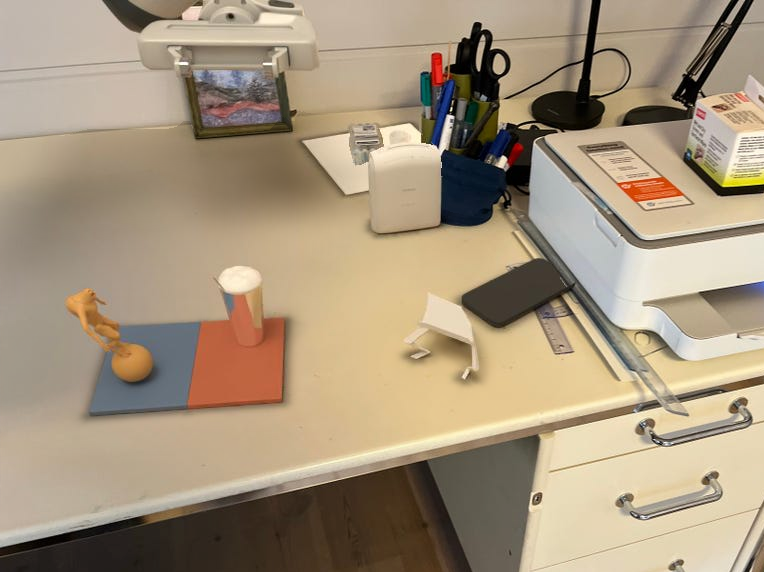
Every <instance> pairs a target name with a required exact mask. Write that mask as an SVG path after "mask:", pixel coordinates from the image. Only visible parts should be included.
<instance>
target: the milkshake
mask: <svg viewBox="0 0 764 572" xmlns="http://www.w3.org/2000/svg"><path fill="white" fill-rule="evenodd" d="M213 280H214V281H215V282H216V283H217V286H218V289H219V292H220V295H221V297H222V300H223V303H224V307H225V310H226V314H227V317H228V319H229V320H230V324H231V327H232V330H233V334H234V337H235V340H236V341H237V343H238V344H239V345H242V346H246V347H249V346H256V345H258V344H259V343H261V342H262V341H263V339H264V336H265V329H264V319H265V318H264V317H265V316H264V303H263V278H262V275H261V273H260V272H259V271H258V270H256V269H254V268H253V267H251V266H247V265H246V266H244V265H234V266H232V267H228V268H224V269H223V270H222V272H221V273H220V275H219V276H218V279H217V278H215V277H213Z"/></svg>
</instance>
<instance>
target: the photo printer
mask: <svg viewBox="0 0 764 572" xmlns="http://www.w3.org/2000/svg"><path fill="white" fill-rule="evenodd" d="M439 151H440V149H439V148H438V147H437V145H435V144H433V145H431V144H426V143H418V142H405V143H397V144H392V145H388V146H384V147H381V148H379V149H377V150H374V151H372V152H370V154H369V163H368V180H369V190H368V194H369V195H368V197H369V198H368V199H369V214H370V215H369V217H370V228H371V230H372V232H374V233H376V234H389V233H396V232H398V233H399V232H406V231H407V232H408V231H413V230H414V231H415V230H420V229H427V228H434V227H438V226H439V225H440V224H441V213H442V212H441V211H442V209H441V208H442V205H441V204H442V176H441V168H442V162H441V157H440V152H441V151H440V152H439Z"/></svg>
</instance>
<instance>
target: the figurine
mask: <svg viewBox="0 0 764 572" xmlns="http://www.w3.org/2000/svg"><path fill="white" fill-rule="evenodd" d="M97 302H98V303H99V304H100V305H102V306H103V305H104V306H107V305H108V303H106V302H105V301H104V300H102V299H100V298H99V297H97V293H96V292H94V290H93V289H92V288H90V287H87V288H84V289H83V290H81V291H79V292H78V293H75V294H73V295H70V296H69V297H67V299H66V300H65V308H66V309H67V311H68V312H69V313H70V314H72V315H73V316H75V317H76V318H78V319H79V323H80V325H81V327H82V329H83V331H84V332H85V333H86V334H87V335H88V336H89V337H91V338H92V339H93V340H94V341H95V342H96V343H97V344H99V345H100V347H101V348H102V349H103V351H105V352H106V354H107V353H108V351H110V350H109V349H111V350H112V351H114V352H115V353H114V355H113V357H112V361H111V365H112V369H113V371H114V373H115V374H116V375H117V376H118V377H119V378H120V379H122V380H124V381H128V382H136V381H140V380H142V379H144V378H145V377H147V376H148V375H149V373H150V372H151V370H152V367H153V359H152V356H151V354H150V352H149V351H148V350H147V349H146V348H144V347H142V346H140V345H137V344H129V343H121V342H119V340H120V334H119V332H117V331H118V329H119V326H120V325H119V322H117V321H114V320H112V319H110V318H109V317H105V316H104V315H102V314H100V313H99V309H98V304H97ZM90 326H91V327H93V330H92V329H91V328H90ZM100 336H101V337H105V338H108V343H104V341H103V340H102V338H101V337H100ZM116 345H117V346H118V347H119V349H118V348H116V347H115V346H116ZM109 346H110V347H109ZM110 352H111V351H110Z"/></svg>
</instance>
